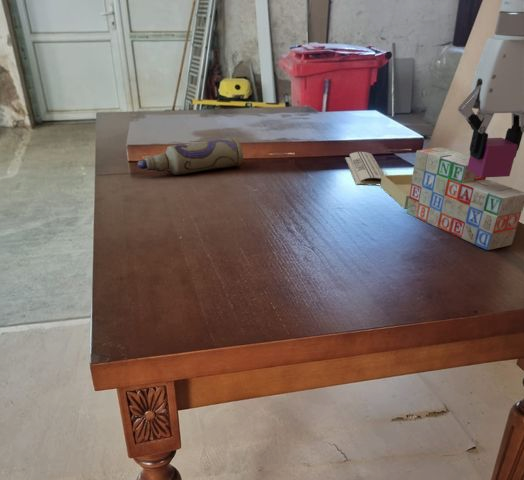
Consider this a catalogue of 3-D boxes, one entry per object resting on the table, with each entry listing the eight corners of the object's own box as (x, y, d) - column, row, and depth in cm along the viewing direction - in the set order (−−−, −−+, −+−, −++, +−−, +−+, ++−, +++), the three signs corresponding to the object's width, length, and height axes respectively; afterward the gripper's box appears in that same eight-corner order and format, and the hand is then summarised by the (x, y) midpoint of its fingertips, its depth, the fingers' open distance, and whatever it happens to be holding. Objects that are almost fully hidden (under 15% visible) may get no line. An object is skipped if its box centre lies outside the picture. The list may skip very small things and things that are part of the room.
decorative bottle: (230, 161, 135) (230, 134, 131) (244, 169, 130) (244, 141, 126) (133, 174, 124) (129, 144, 121) (143, 182, 119) (140, 152, 115)
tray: (426, 185, 121) (428, 173, 120) (455, 206, 109) (458, 194, 108) (379, 186, 119) (381, 175, 118) (404, 208, 108) (406, 195, 106)
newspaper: (386, 185, 120) (387, 177, 119) (355, 184, 120) (356, 176, 119) (371, 158, 140) (372, 151, 139) (344, 158, 140) (345, 151, 139)
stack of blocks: (512, 245, 92) (534, 174, 85) (487, 251, 90) (507, 179, 83) (429, 208, 108) (441, 145, 101) (405, 212, 105) (416, 148, 98)
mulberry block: (494, 168, 90) (501, 137, 87) (509, 176, 86) (518, 144, 83) (466, 169, 90) (473, 138, 87) (481, 177, 86) (488, 145, 83)
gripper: (561, 25, 80) (526, 149, 90) (456, 26, 78) (433, 152, 88) (593, 28, 74) (553, 160, 84) (481, 29, 72) (453, 165, 82)
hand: (492, 155), depth 86 cm, fingers closed on mulberry block, 5 cm apart
